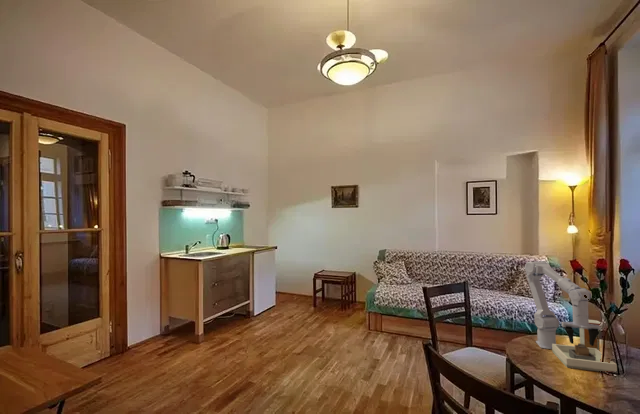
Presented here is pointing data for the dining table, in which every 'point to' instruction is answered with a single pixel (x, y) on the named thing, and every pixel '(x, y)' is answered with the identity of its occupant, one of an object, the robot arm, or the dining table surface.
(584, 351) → the peg
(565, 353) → the cream square tray
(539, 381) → the dining table surface
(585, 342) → the small box
